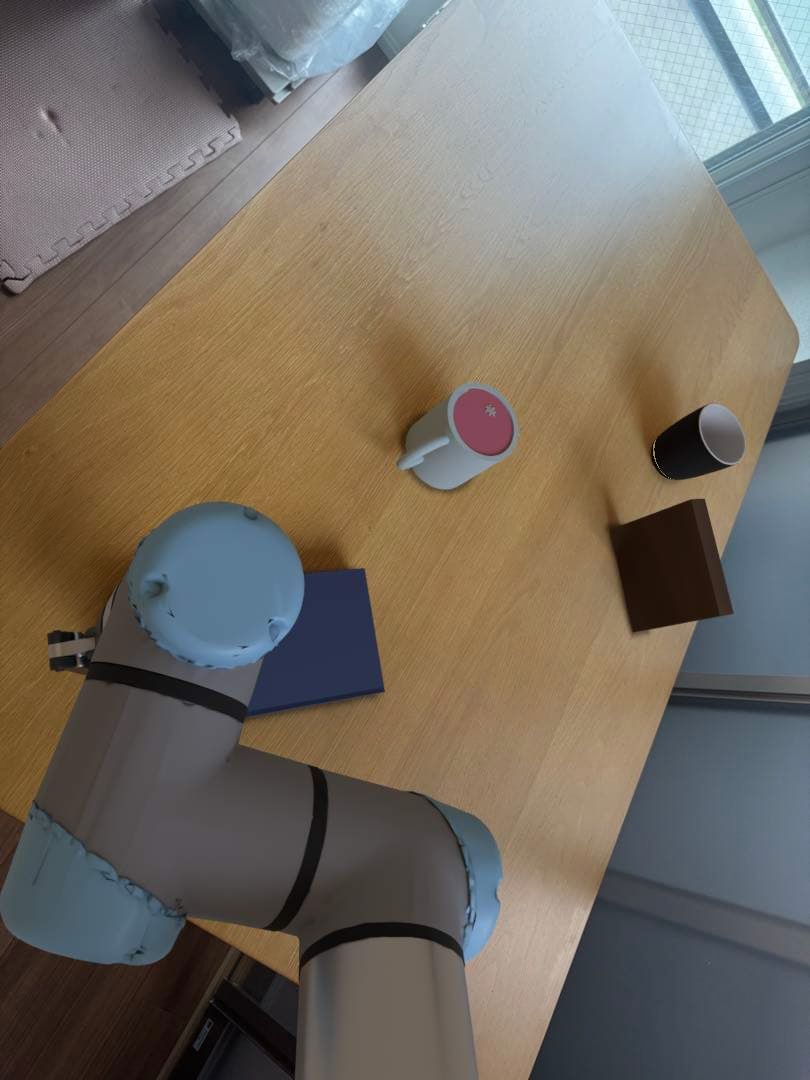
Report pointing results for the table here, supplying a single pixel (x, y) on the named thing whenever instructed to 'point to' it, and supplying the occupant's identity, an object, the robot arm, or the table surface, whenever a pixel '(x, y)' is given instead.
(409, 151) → the table surface
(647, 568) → the dark brown flat block
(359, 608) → the book
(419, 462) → the mug
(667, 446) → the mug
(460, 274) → the table surface
